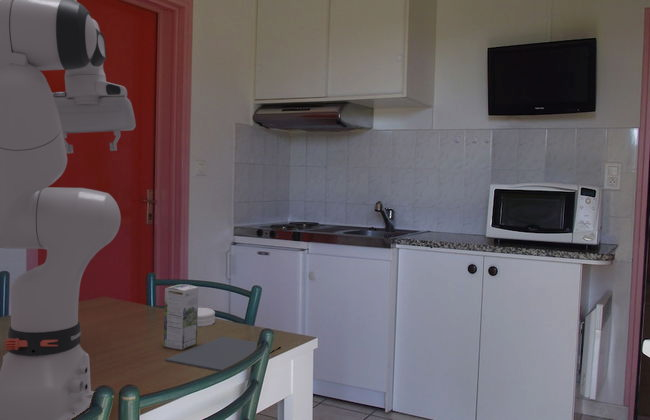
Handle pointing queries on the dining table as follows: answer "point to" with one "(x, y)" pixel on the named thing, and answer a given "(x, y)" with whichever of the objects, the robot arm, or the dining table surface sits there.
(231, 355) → the mat
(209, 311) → the white round tub
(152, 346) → the dining table surface
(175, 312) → the syrup box
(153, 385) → the dining table surface
